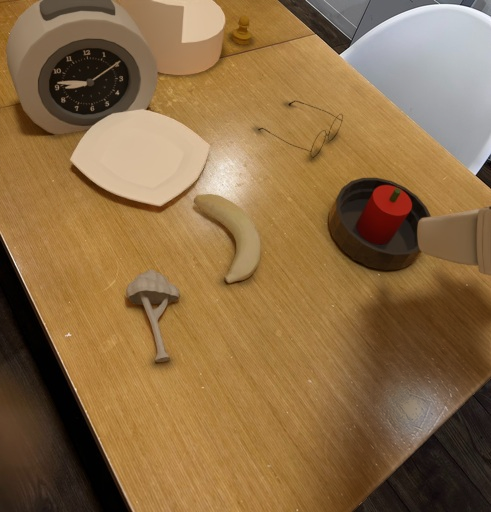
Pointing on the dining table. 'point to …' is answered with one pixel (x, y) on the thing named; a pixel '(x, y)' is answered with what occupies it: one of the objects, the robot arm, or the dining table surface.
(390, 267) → the pan
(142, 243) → the dining table surface
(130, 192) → the plate
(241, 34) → the chess piece
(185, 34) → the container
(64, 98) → the alarm clock
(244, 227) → the fruit
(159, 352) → the mushroom
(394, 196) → the pepper
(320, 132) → the eyeglasses
